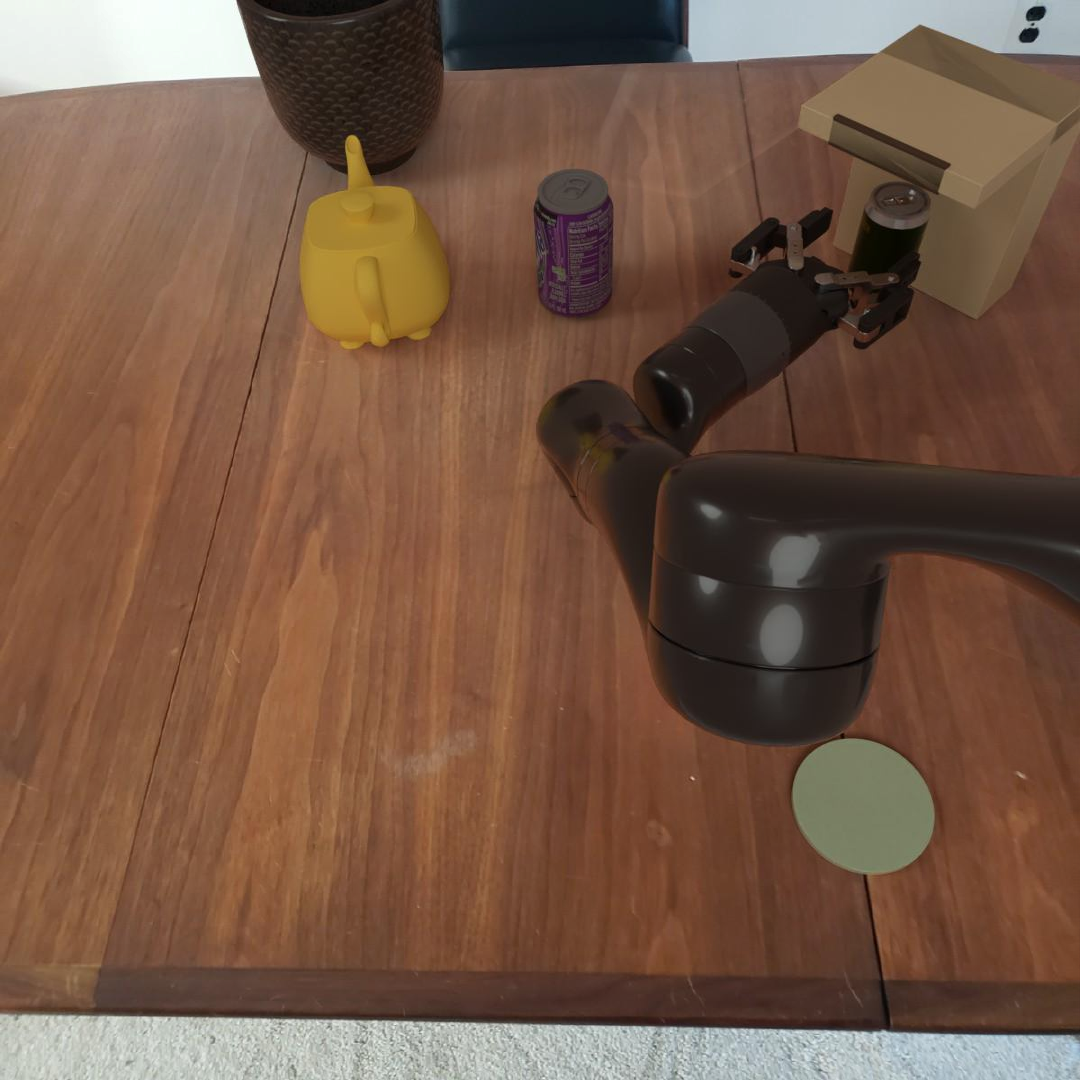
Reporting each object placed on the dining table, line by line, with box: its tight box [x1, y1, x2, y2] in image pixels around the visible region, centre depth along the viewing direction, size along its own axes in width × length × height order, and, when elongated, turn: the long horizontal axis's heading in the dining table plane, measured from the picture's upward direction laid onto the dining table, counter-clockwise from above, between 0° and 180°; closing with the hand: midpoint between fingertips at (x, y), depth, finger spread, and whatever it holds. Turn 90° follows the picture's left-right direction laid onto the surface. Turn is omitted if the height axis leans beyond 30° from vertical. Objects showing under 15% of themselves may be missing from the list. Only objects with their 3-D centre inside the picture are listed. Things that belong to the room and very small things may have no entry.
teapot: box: [299, 135, 451, 350], centre depth 89 cm, size 14×20×13 cm
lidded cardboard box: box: [797, 24, 1080, 321], centre depth 85 cm, size 20×16×20 cm
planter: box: [235, 0, 445, 176], centre depth 102 cm, size 20×20×19 cm
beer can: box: [846, 181, 931, 310], centre depth 86 cm, size 5×5×12 cm
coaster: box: [790, 737, 936, 876], centre depth 63 cm, size 9×9×1 cm
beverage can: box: [532, 168, 614, 318], centre depth 89 cm, size 7×7×12 cm
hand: (870, 238), depth 81 cm, fingers open, 8 cm apart
